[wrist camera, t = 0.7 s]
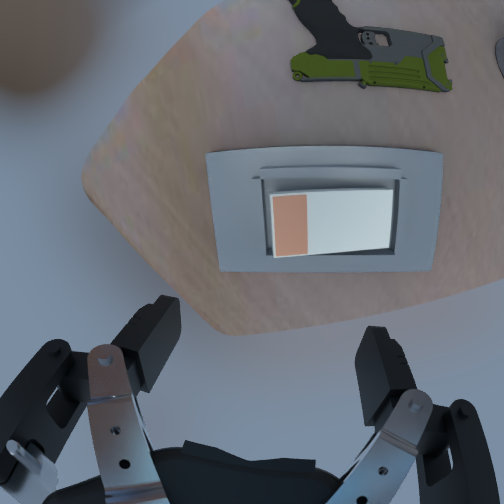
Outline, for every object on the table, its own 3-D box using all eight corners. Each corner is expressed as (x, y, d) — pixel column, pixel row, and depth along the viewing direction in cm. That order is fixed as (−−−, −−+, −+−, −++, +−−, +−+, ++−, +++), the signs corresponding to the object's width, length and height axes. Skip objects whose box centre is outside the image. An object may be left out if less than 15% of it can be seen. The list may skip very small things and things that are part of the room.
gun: (422, -4, 16) (447, 98, 22) (275, -13, 20) (295, 92, 26) (429, -10, 14) (457, 97, 20) (273, -23, 18) (294, 88, 24)
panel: (435, 152, 24) (451, 154, 21) (425, 263, 30) (436, 278, 26) (211, 152, 30) (198, 154, 26) (224, 264, 35) (215, 279, 31)
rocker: (387, 187, 24) (393, 190, 23) (383, 243, 27) (389, 248, 25) (268, 192, 25) (270, 195, 23) (272, 253, 27) (274, 258, 26)
